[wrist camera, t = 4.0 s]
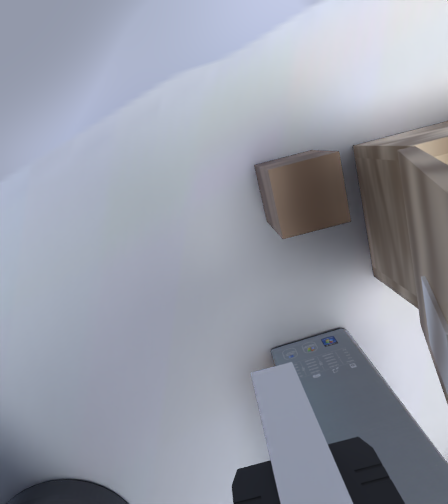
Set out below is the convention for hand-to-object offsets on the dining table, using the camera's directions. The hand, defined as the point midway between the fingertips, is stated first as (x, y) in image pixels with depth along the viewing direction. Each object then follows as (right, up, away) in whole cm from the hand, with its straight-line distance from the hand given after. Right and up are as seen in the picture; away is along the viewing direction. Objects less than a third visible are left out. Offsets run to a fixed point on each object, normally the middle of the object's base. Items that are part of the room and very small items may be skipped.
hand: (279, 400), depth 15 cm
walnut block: (+4, +11, +21) cm, 24 cm away
